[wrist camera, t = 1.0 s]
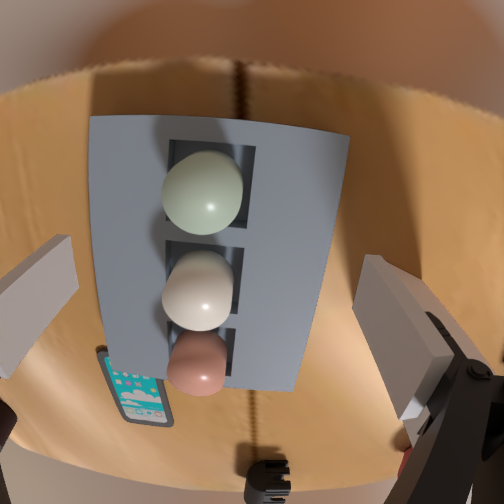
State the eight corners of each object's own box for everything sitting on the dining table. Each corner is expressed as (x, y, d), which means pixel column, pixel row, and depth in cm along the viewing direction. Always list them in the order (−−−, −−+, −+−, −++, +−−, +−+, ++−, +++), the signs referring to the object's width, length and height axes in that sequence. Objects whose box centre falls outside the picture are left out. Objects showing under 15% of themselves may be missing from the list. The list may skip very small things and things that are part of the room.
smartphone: (122, 422, 41) (92, 351, 35) (124, 417, 42) (95, 346, 36) (176, 429, 41) (156, 357, 35) (177, 424, 42) (158, 352, 36)
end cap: (246, 458, 45) (246, 491, 39) (289, 458, 46) (291, 491, 39) (243, 480, 49) (243, 509, 43) (281, 480, 50) (282, 509, 43)
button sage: (174, 213, 25) (160, 230, 21) (177, 147, 23) (163, 153, 19) (239, 219, 25) (237, 238, 21) (247, 152, 23) (245, 160, 19)
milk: (382, 259, 30) (504, 436, 10) (422, 280, 31) (537, 434, 11) (352, 307, 33) (427, 496, 12) (392, 323, 34) (475, 488, 13)
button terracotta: (175, 363, 31) (168, 392, 27) (173, 324, 29) (164, 352, 25) (225, 370, 31) (222, 398, 28) (229, 331, 29) (226, 360, 26)
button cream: (173, 299, 28) (163, 326, 24) (173, 245, 26) (160, 268, 22) (231, 306, 28) (228, 334, 24) (236, 252, 26) (233, 276, 22)
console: (122, 347, 35) (112, 369, 32) (110, 115, 25) (89, 116, 21) (289, 366, 36) (292, 391, 32) (337, 133, 26) (350, 135, 22)
